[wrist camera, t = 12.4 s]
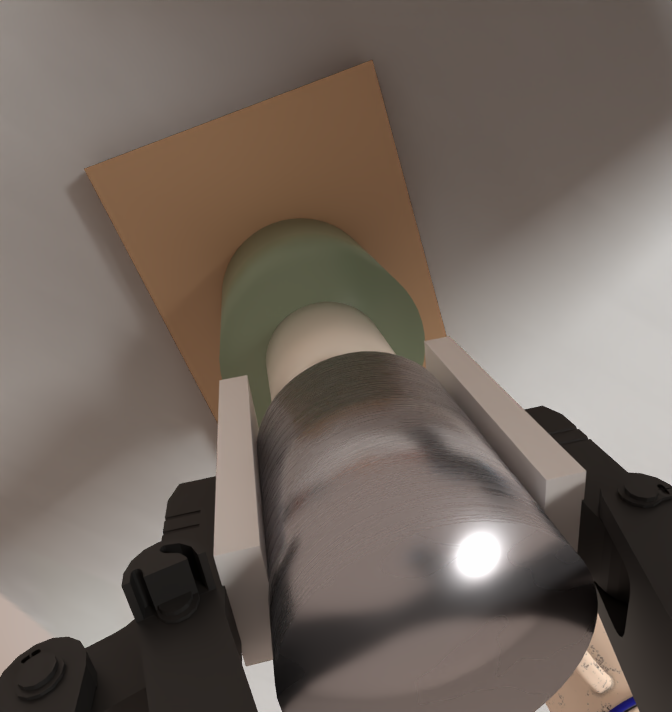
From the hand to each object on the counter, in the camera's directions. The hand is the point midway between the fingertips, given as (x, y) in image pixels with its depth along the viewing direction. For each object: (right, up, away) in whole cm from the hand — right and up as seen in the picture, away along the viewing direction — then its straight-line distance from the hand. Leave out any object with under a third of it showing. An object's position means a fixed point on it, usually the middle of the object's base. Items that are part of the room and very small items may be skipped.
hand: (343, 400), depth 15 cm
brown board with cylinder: (-2, +4, +10) cm, 11 cm away
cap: (0, -1, -2) cm, 2 cm away
